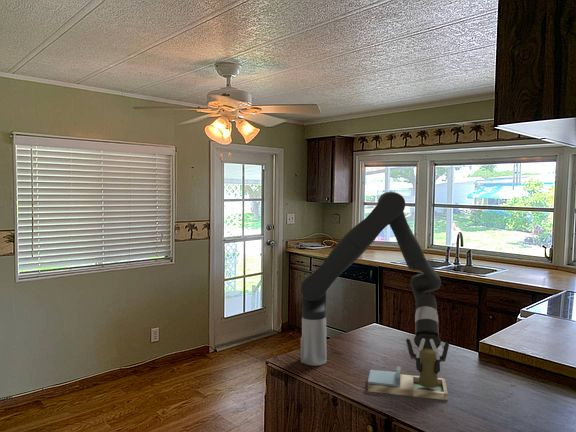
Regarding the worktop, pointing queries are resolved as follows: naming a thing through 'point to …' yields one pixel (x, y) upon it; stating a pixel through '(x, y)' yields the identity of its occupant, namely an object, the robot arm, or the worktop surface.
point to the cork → (428, 369)
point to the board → (412, 388)
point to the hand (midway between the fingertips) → (428, 371)
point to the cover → (385, 377)
